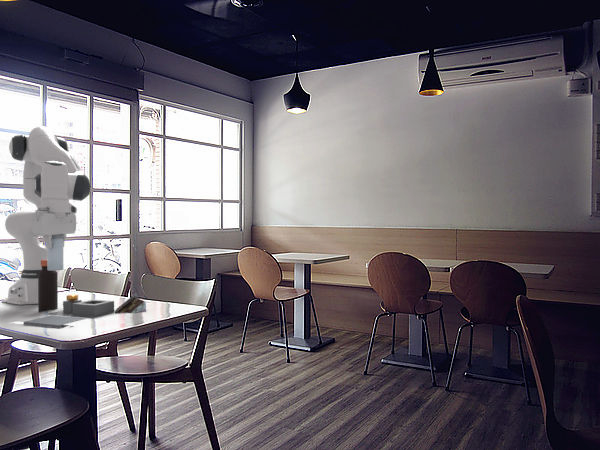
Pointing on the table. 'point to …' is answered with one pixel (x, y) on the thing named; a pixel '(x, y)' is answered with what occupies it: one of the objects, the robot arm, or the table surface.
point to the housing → (86, 308)
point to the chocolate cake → (132, 305)
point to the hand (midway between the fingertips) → (55, 247)
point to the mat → (52, 321)
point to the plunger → (72, 297)
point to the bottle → (47, 289)
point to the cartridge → (55, 254)
